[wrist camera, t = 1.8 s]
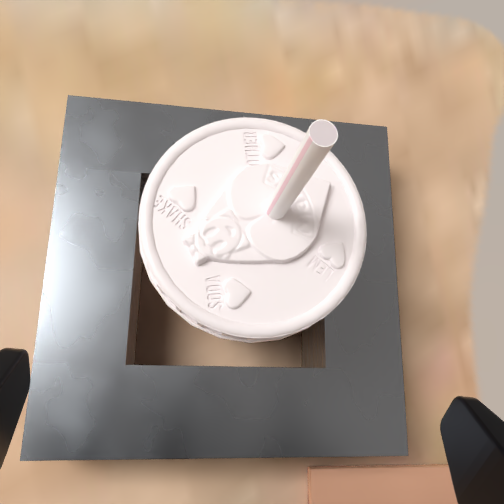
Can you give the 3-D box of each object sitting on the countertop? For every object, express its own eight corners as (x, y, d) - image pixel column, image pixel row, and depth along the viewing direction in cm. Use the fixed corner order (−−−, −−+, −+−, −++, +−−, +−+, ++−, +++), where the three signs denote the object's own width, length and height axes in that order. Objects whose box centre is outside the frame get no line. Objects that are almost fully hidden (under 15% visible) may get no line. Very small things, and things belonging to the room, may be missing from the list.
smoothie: (313, 311, 22) (526, 223, 9) (193, 379, 20) (224, 401, 7) (249, 198, 23) (350, -43, 9) (129, 255, 21) (48, 59, 8)
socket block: (371, 441, 21) (408, 455, 17) (48, 444, 19) (19, 460, 15) (357, 160, 24) (386, 126, 21) (84, 136, 22) (68, 95, 19)
